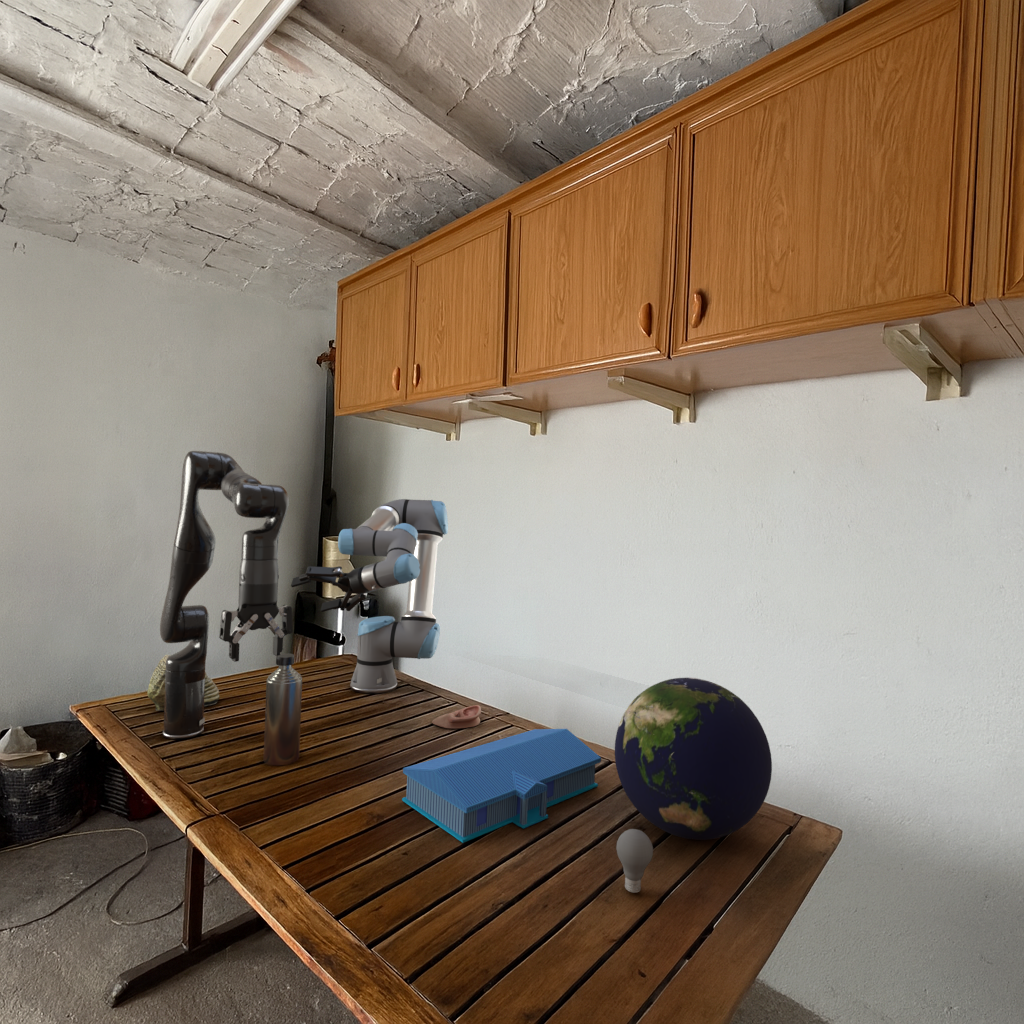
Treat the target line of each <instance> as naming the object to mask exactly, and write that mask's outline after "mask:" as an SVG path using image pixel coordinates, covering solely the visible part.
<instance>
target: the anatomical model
mask: <svg viewBox="0 0 1024 1024" xmlns="http://www.w3.org/2000/svg"><path fill="white" fill-rule="evenodd" d="M481 714H482V707H481V706H480V705H478V704H475V705H471V706H467V707H463V708H460V709H457V710H454V711H452V712H448V713H445V714H442V715H439V716H437V717H435V718H434V719H432V720H431V723H432V725H435V726H438V727H441V728H445V729H466V728H467V729H468V728H472V727H476V726H478V725H480V724H481V718H480V716H481Z"/></svg>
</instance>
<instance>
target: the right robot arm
mask: <svg viewBox="0 0 1024 1024" xmlns="http://www.w3.org/2000/svg"><path fill="white" fill-rule="evenodd" d="M448 519H449V518H448V511H447V505H446V503H445V502H444V501H442V500H433V499H407V498H399V499H394V500H391V501H388V502H385V503H383V504H380V505H379V506H378V507H376V508H375V509H374V510H373V512H372V513H371V516H370V517H368V518H367V519H365V521H364V522H362V523H360V525H359V526H357V527H356V528H351V527H350V528H343V529H341V530H340V532H339V534H338V538H337V548H338V551H339V553H340V554H341V555H348V556H360V557H361V556H363V557H364V556H366V557H385V559H384V560H381V561H378V562H377V561H376V562H373V563H370V564H367V565H364V566H360V567H357V568H353V569H352V570H351V571H349V572H343V567H342V566H339V565H338V566H334V567H332V566H310V565H309V566H307V568H306V571H305V573H302V574H300V575H299V576H296V577H293V578H292V581H291V584H290V587H291V588H295V587H298V586H302V585H303V586H304V585H306V584H309V583H312V581H315V582H319V583H320V582H321V583H324V584H331V585H332V586H335V587H337V588H339V589H340V590H341V591H342V592H343V593H345V594H344V596H343V598H336V599H332V600H329V601H326V602H322V604H321V606H320V610H319V611H320V612H321V613H324V612H327V611H332V610H338V609H340V611H342V612H344V611H347V612H351V610H353V609H354V608H355V607H356V606H357V605H358V604H359V603H360V602H362V601H365V600H366V599H367V595H368V593H371V592H375V591H378V590H383V589H386V588H390V587H393V586H394V587H395V586H399V585H404V584H407V583H408V592H407V601H406V602H407V603H406V611H405V612H404V613H403V614H402V615H401V616H400V618H401V619H400V621H396V619H395V616H393V615H392V616H391V615H381V616H373V617H368V618H364V619H363V620H361V621H360V622H359V624H358V629H357V646H356V647H357V651H356V653H357V654H356V666H355V668H354V671H353V674H352V676H351V679H350V683H349V685H350V686H349V688H350V690H351V691H354V692H356V693H361V694H369V695H372V694H374V695H375V694H384V693H389V692H392V691H395V690H396V689H397V688H398V679H397V675H396V671H395V669H394V663H393V658H400V659H401V658H402V659H417V660H421V659H422V660H423V659H424V660H425V659H431V658H433V657H434V655H435V654H436V651H437V648H438V645H439V640H440V633H441V625H440V623H438V622H437V617H436V616H435V615H434V614H433V606H434V595H435V584H436V583H435V582H436V569H437V558H438V546H439V544H440V543H441V542H442V541H443V539H444V536H445V535H447V534H448V533H449V522H448V521H449V520H448ZM353 594H354V596H353V597H352V595H353ZM351 597H352V598H351Z"/></svg>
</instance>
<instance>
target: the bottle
mask: <svg viewBox="0 0 1024 1024" xmlns="http://www.w3.org/2000/svg"><path fill="white" fill-rule="evenodd" d="M265 685H266V686H265V712H264V738H263V742H264V743H263V762H264V763H265V764H266V765H268V766H279V767H280V766H287V765H290V764H293V763H295V762H297V761H298V760H299V759H300V750H301V749H300V748H301V743H300V742H301V725H302V724H301V721H302V699H303V698H302V696H303V695H302V693H303V676H302V675H301V674H300V673H299V672H298V671H297V670H296V669H294V667H293V666H292V665H288V666H279V665H278V668H276V669H275V670H274V671H273V672H272V673H270V674H269V675H268V677H267V678H266V684H265Z"/></svg>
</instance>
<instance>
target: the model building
mask: <svg viewBox="0 0 1024 1024" xmlns="http://www.w3.org/2000/svg"><path fill="white" fill-rule="evenodd" d="M601 762H602V757H601V756H600V755H599V754H597V752H595V751H594V750H593V749H591V748H590V747H589V746H588V745H586V744H585V743H584V742H583V741H582V740H581V739H579V737H577V736H576V735H575V734H574V733H572V731H570V730H569V729H568V728H536V729H535V728H534V729H531V730H528V731H524V732H521V733H517V734H514V735H510V736H507V737H504V738H501V739H497V740H494V741H490V742H487V743H484V744H480V745H477V746H473V747H470V748H467V749H464V750H460V751H457V752H453V753H450V754H447V755H443V756H439V757H437V758H432V759H430V760H426V761H423V762H419V763H417V764H413V765H409V766H406V767H403V768H402V774H403V775H406V796H404V797H402V798H401V801H402V802H403V803H405V804H406V805H408V806H409V807H411V808H412V809H413V810H415V811H417V812H418V813H419V814H420V815H422V816H423V817H424V818H427V819H428V820H429V821H431V822H432V823H433V824H435V825H436V826H438V827H439V828H441V829H442V830H443V831H445V832H446V833H448V834H449V835H451V836H452V837H453V838H455V839H456V840H458V841H459V842H461V843H462V844H464V843H466V842H469V841H471V840H474V839H476V838H478V837H480V836H482V835H485V834H488V833H490V832H493V831H495V830H497V829H499V828H502V827H504V826H507V825H509V824H511V823H513V824H515V825H516V826H517V827H519V828H521V829H526V828H529V827H530V826H533V825H535V824H537V823H540V822H542V821H544V820H546V819H549V814H547V808H549V807H552V806H554V805H557V804H559V803H561V802H564V801H567V800H569V799H571V798H573V797H575V796H578V795H580V794H583V793H585V792H587V791H590V790H593V789H594V788H597V787H599V784H598V783H597V782H596V781H595V778H596V765H598V764H600V763H601Z"/></svg>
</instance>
